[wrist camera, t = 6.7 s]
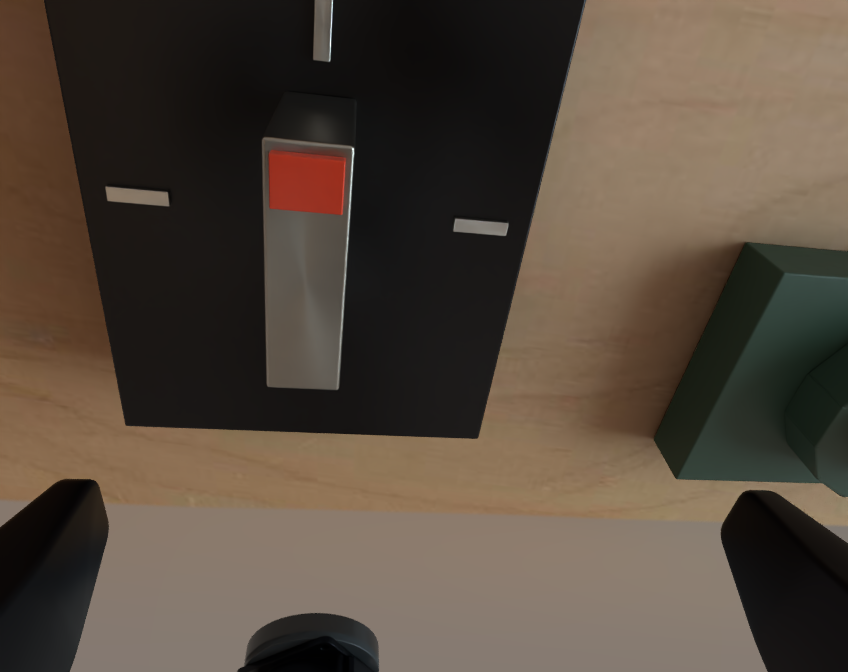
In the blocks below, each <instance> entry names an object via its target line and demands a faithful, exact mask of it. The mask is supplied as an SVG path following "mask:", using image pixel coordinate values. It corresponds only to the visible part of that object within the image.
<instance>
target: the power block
mask: <svg viewBox="0 0 848 672" xmlns="http://www.w3.org/2000/svg"><path fill="white" fill-rule="evenodd" d="M654 441H655V443H656V445H657V447H658V448H659V450H660V452H661V454H662V455H663V457H664V459H665V461H666V462H667V464H668V466H669V468H670V469H671V471H672V473H673V475H674V476H675V478H676V479H686V480H722V481H757V482H793V483H823V484H824V485H826V486H827V487H829V488H830V489H831V490H833V491H834V492H836V493H837V494H839V495H840V496H842V497H848V252H846V251H836V250H825V249H814V248H803V247H792V246H781V245H770V244H760V243H749V242H747V243H745V245H744V247H743V249H742V252H741V254H740V256H739V258H738V260H737V262H736V264H735V266H734V269H733V271H732V273H731V275H730V277H729V279H728V281H727V284H726V286H725V288H724V290H723V292H722V294H721V296H720V299H719V301H718V303H717V305H716V307H715V309H714V311H713V313H712V316H711V318H710V320H709V322H708V324H707V326H706V328H705V331H704V333H703V335H702V337H701V339H700V341H699V343H698V346H697V348H696V350H695V352H694V354H693V356H692V358H691V361H690V363H689V365H688V367H687V369H686V371H685V373H684V375H683V378H682V380H681V382H680V384H679V386H678V388H677V390H676V393H675V395H674V397H673V399H672V401H671V403H670V405H669V408H668V410H667V412H666V414H665V416H664V418H663V420H662V423H661V425H660V427H659V429H658V431H657V433H656V435H655V437H654Z"/></svg>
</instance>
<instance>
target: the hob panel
mask: <svg viewBox="0 0 848 672" xmlns="http://www.w3.org/2000/svg"><path fill="white" fill-rule="evenodd" d="M44 3H45V8H46V14H47V19H48V24H49V29H50V34H51V40H52V45H53V50H54V55H55V60H56V66H57V71H58V76H59V81H60V86H61V92H62V97H63V102H64V107H65V112H66V118H67V123H68V128H69V133H70V139H71V144H72V149H73V154H74V159H75V165H76V170H77V175H78V180H79V185H80V191H81V196H82V201H83V206H84V211H85V217H86V222H87V227H88V232H89V237H90V243H91V248H92V253H93V258H94V263H95V269H96V274H97V279H98V284H99V290H100V295H101V300H102V305H103V310H104V316H105V321H106V326H107V331H108V336H109V342H110V347H111V352H112V357H113V362H114V368H115V373H116V378H117V383H118V388H119V394H120V399H121V404H122V409H123V415H124V420H125V425H126V426H144V427H171V428H199V429H226V430H253V431H280V432H307V433H334V434H361V435H388V436H415V437H443V438H470V439H477V438H478V436H479V432H480V428H481V424H482V420H483V416H484V412H485V408H486V404H487V400H488V396H489V392H490V388H491V384H492V380H493V375H494V371H495V367H496V363H497V359H498V355H499V351H500V347H501V343H502V339H503V335H504V331H505V327H506V323H507V319H508V315H509V311H510V307H511V303H512V299H513V294H514V290H515V286H516V282H517V278H518V274H519V270H520V266H521V262H522V258H523V254H524V250H525V246H526V242H527V238H528V234H529V230H530V226H531V222H532V218H533V213H534V209H535V205H536V201H537V197H538V193H539V189H540V185H541V181H542V177H543V173H544V169H545V165H546V161H547V157H548V153H549V149H550V145H551V141H552V137H553V132H554V128H555V124H556V120H557V116H558V112H559V108H560V104H561V100H562V96H563V92H564V88H565V84H566V80H567V76H568V72H569V68H570V64H571V60H572V56H573V51H574V47H575V43H576V39H577V35H578V31H579V27H580V23H581V19H582V15H583V11H584V7H585V3H586V0H44ZM286 91H289V92H298V93H306V94H315V95H323V96H332V97H341V98H349V99H354V100H356V135H355V158H354V173H353V188H352V203H351V219H350V234H349V249H348V264H347V279H346V294H345V310H344V325H343V340H342V355H341V370H340V386H339V389H338V390H321V389H299V388H277V387H268V386H267V384H266V340H265V290H264V241H263V191H262V141H261V140H262V137H263V135H264V133H265V131H266V129H267V127H268V125H269V123H270V121H271V119H272V116H273V114H274V112H275V110H276V108H277V106H278V104H279V102H280V100H281V98H282V96H283V94H284V92H286Z"/></svg>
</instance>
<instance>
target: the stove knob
mask: <svg viewBox="0 0 848 672" xmlns="http://www.w3.org/2000/svg"><path fill="white" fill-rule="evenodd" d="M355 135H356V100H354V99H349V98H341V97H332V96H323V95H315V94H306V93H298V92H289V91H286V92H284V94H283V96H282V98H281V100H280V102H279V104H278V106H277V108H276V110H275V112H274V114H273V116H272V119H271V121H270V123H269V125H268V127H267V129H266V131H265V133H264V135H263V137H262V140H261V141H262V191H263V241H264V290H265V340H266V384H267V386H268V387H277V388H299V389H321V390H338V389H339V386H340V370H341V355H342V340H343V325H344V310H345V294H346V279H347V264H348V249H349V234H350V219H351V203H352V188H353V173H354V158H355Z"/></svg>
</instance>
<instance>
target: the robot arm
mask: <svg viewBox="0 0 848 672" xmlns="http://www.w3.org/2000/svg"><path fill="white" fill-rule="evenodd" d="M108 530H109V525H108V518H107V514H106V510H105V506H104V502H103V499H102V495H101V491H100V487H99V485H98V483H97V482H96V481H94V480H91V479H63V480H60V481H58V482H56V483H55V484H53V485H52V486H51V487H50V488H48V489H47V490H46V491H45V492H43V493H42V494H41V495H40V496H38V497H37V498H36V499H35V500H34V501H32V502H31V503H30V504H29V505H27V506H26V507H25V508H24V509H22V510H21V511H20V512H19V513H17V514H16V515H15V516H14V517H12V518H11V519H10V520H9V521H8V522H6V523H5V524H4V525H2V526H1V527H0V672H70V669H71V666H72V664H73V661H74V658H75V655H76V652H77V648H78V645H79V641H80V638H81V634H82V630H83V627H84V623H85V619H86V616H87V612H88V608H89V605H90V601H91V597H92V593H93V590H94V586H95V582H96V579H97V575H98V571H99V568H100V564H101V560H102V556H103V553H104V549H105V546H106V542H107V538H108ZM721 540H722V544H723V547H724V550H725V553H726V556H727V559H728V562H729V565H730V568H731V572H732V575H733V578H734V581H735V583H736V587H737V590H738V593H739V596H740V599H741V602H742V605H743V608H744V611H745V614H746V617H747V620H748V623H749V626H750V629H751V631H752V634H753V637H754V640H755V642H756V645H757V647H758V650H759V652H760V655H761V657H762V660H763V662H764V664H765V667H766V669H767V671H768V672H848V543H847V542H845V541H844V540H842V539H841V538H839V537H838V536H836V535H835V534H834V533H832V532H831V531H830V530H828V529H827V528H825V527H824V526H823V525H821V524H820V523H818V522H817V521H815V520H814V519H813V518H811V517H810V516H808V515H807V514H806V513H804V512H803V511H801V510H800V509H798V508H797V507H796V506H794V505H793V504H791V503H790V502H789V501H787V500H786V499H784V498H783V497H781V496H780V495H779V494H777V493H775V492H772V491H765V490H748V491H745V492H743V493H742V494H741V495H740V496H739V498H738V499H737V501H736V503H735V504H734V506H733V508H732V509H731V511H730V512H729V514H728V516H727V517H726V519H725V521H724V522H723V524H722V528H721ZM237 672H375V671H374V670H372V669H371V668H370V667H369V666H367V665H366V664H365V663H364V662H362V661H361V660H360V659H359V658H357V657H356V656H355V655H354V654H352V653H351V652H350V651H349V650H347V649H346V648H345V647H344V646H342V645H341V644H340V643H339V642H337V641H336V640H335V639H334V638H332V637H330V636H321V637H318V638H316V639H313V640H310V641H308V642H305V643H303V644H300V645H298V646H295V647H292V648H290V649H287V650H285V651H282V652H280V653H277V654H275V655H272V656H269V657H267V658H264V659H262V660H259V661H257V662H254V663H251V664H249V665H246V666H244V667H241V668H239V669H238V670H237Z"/></svg>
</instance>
